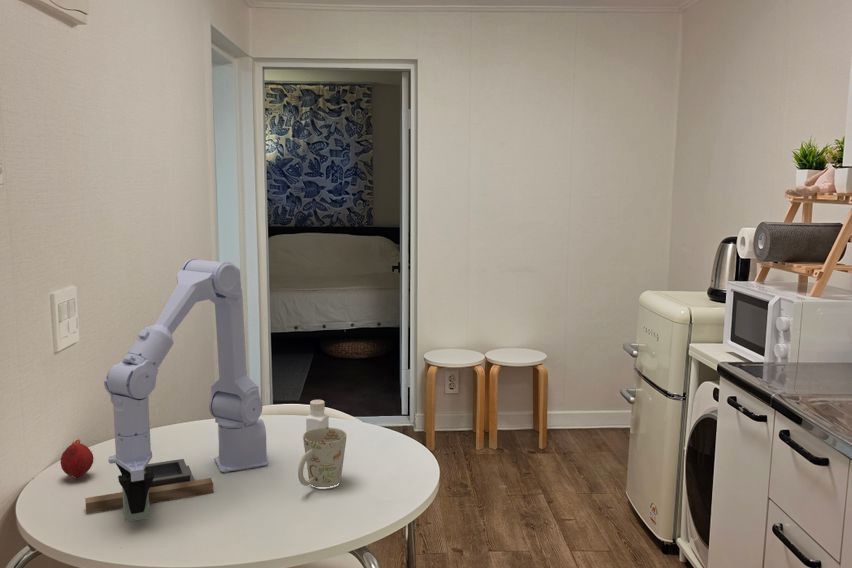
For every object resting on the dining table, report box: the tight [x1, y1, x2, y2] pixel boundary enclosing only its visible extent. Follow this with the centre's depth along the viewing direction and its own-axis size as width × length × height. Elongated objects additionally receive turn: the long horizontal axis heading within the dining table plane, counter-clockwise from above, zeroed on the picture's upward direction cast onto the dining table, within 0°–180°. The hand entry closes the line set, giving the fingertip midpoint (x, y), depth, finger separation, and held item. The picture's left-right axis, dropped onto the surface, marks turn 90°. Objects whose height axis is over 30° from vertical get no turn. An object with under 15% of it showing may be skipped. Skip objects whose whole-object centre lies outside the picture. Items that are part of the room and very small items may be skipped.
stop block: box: [121, 486, 150, 523], centre depth 131 cm, size 4×4×6 cm
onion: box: [59, 438, 95, 479], centre depth 146 cm, size 6×6×8 cm
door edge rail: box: [84, 477, 214, 515], centre depth 137 cm, size 22×2×2 cm, turn 116°
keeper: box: [144, 458, 196, 488], centre depth 145 cm, size 11×11×3 cm
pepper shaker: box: [305, 399, 330, 433], centre depth 167 cm, size 4×4×10 cm
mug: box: [297, 427, 347, 487], centre depth 144 cm, size 8×13×10 cm, turn 155°
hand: (135, 504), depth 132 cm, fingers open, 6 cm apart
